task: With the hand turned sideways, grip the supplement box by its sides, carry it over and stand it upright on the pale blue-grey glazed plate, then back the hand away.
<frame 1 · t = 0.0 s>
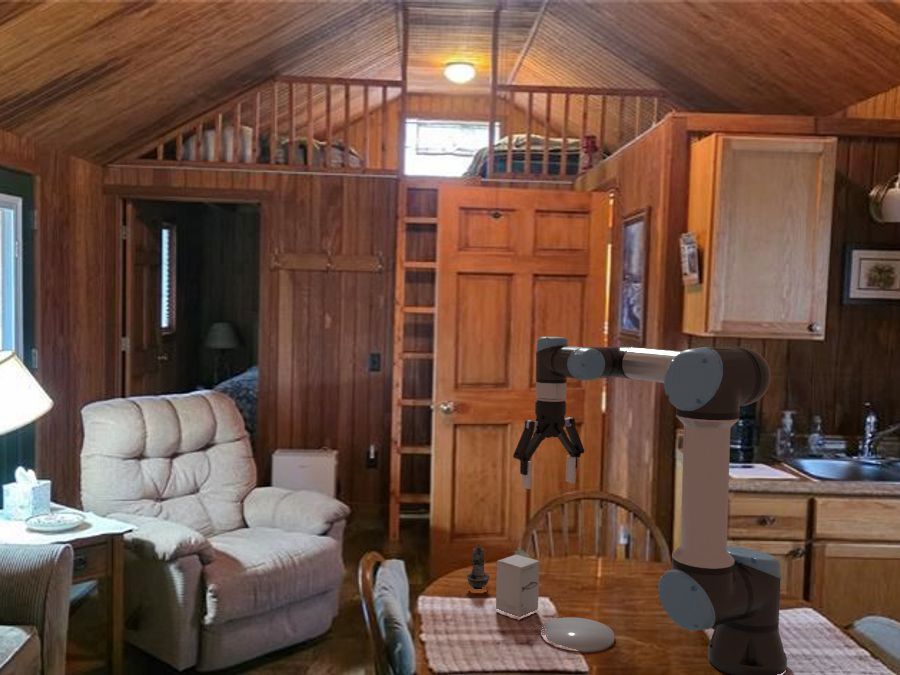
hand: (548, 485, 197), 28 cm above the table, tool pointing down, fingers open, 13 cm apart
croissant: (715, 616, 188), on the table
supplement box: (516, 614, 187), on the table
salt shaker: (477, 591, 202), on the table
plate: (577, 636, 174), on the table
medication box: (525, 571, 218), on the table
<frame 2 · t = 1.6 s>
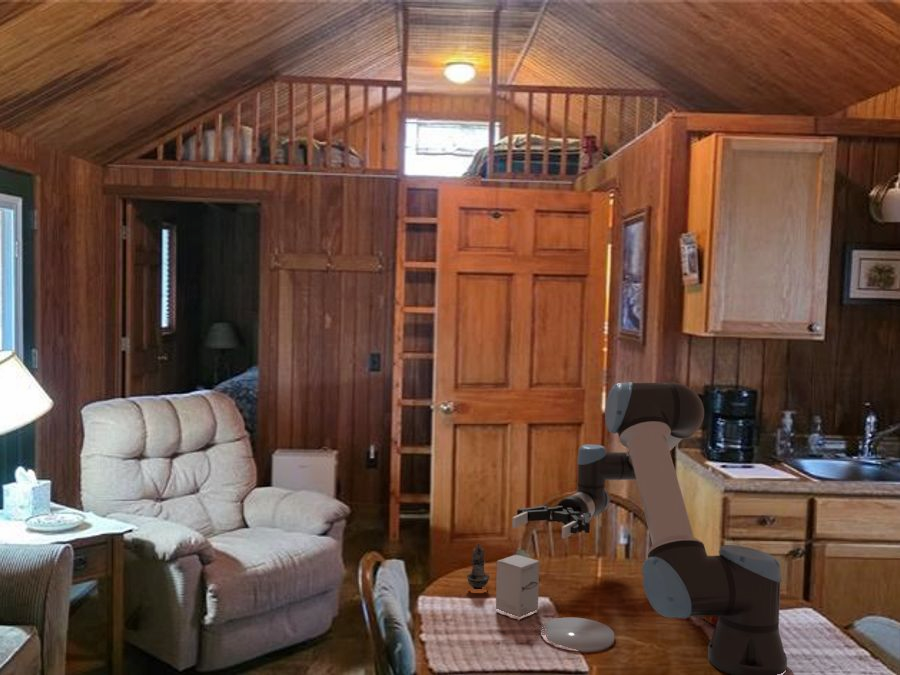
hand: (537, 527, 194), 18 cm above the table, tool horizontal, fingers open, 13 cm apart
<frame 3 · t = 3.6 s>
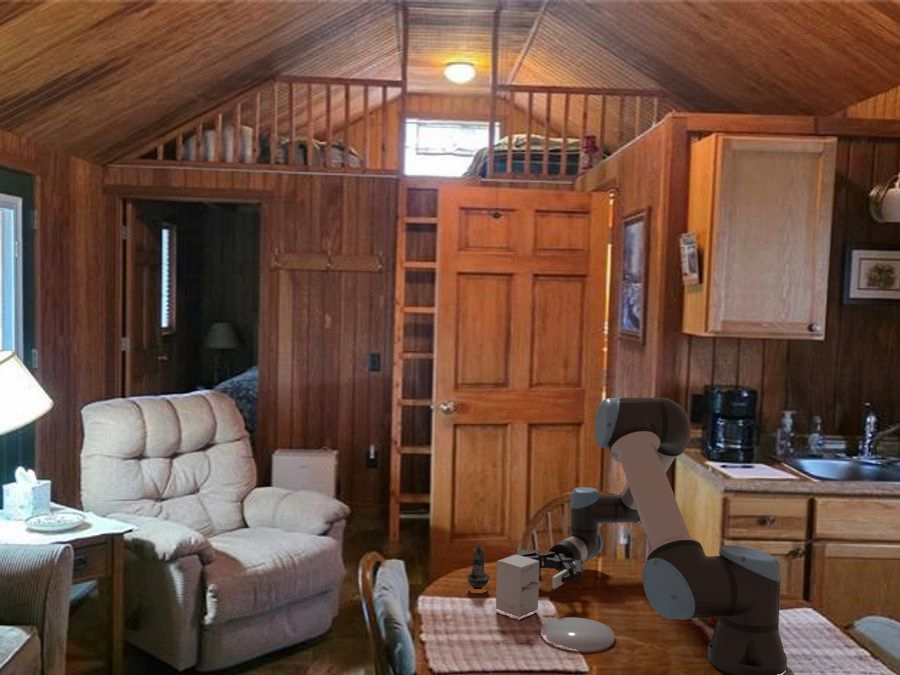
hand: (528, 576, 192), 7 cm above the table, tool horizontal, fingers open, 13 cm apart
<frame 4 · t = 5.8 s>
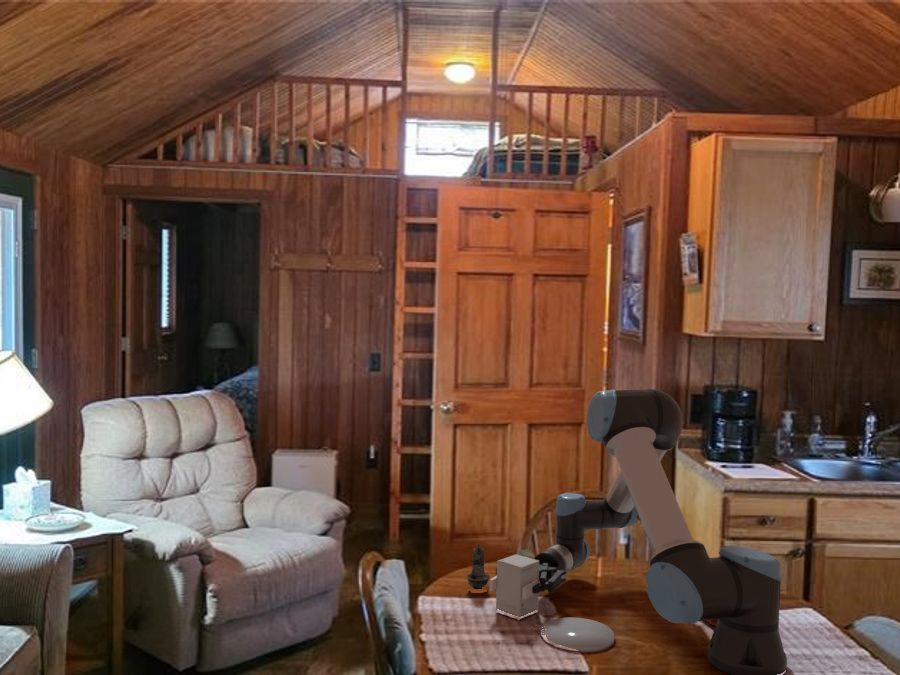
hand: (507, 589, 183), 7 cm above the table, tool horizontal, fingers closed on supplement box, 8 cm apart
supplement box: (517, 614, 187), on the table, touching gripper
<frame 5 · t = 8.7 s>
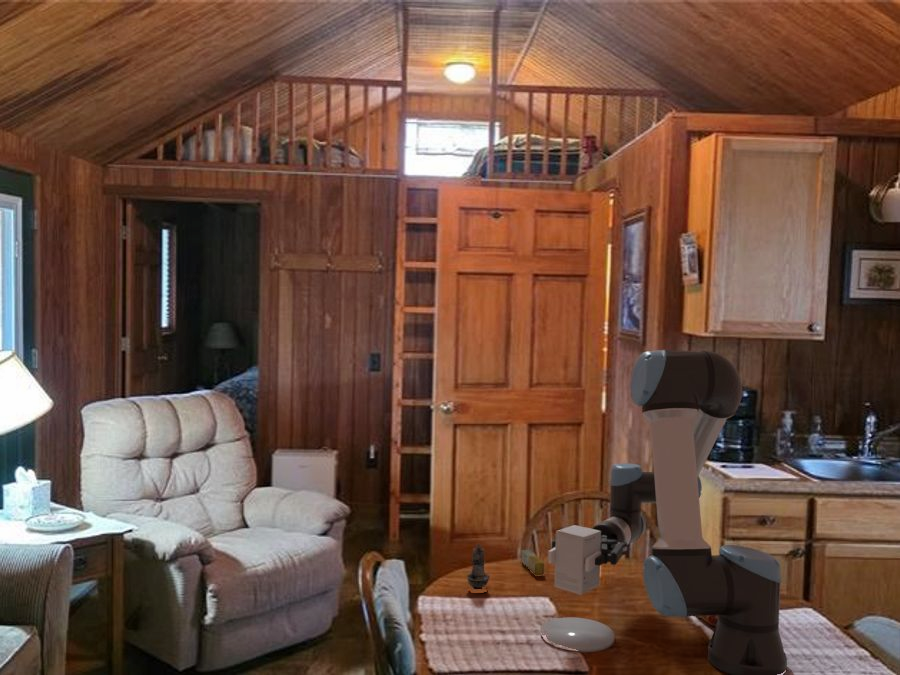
hand: (568, 561, 170), 18 cm above the table, tool horizontal, fingers closed on supplement box, 8 cm apart
supplement box: (577, 588, 174), point 11 cm above the table, touching gripper
when the fingers open (9 cm above the table, at t = 10.8 s): supplement box drops 1 cm, resting on plate.
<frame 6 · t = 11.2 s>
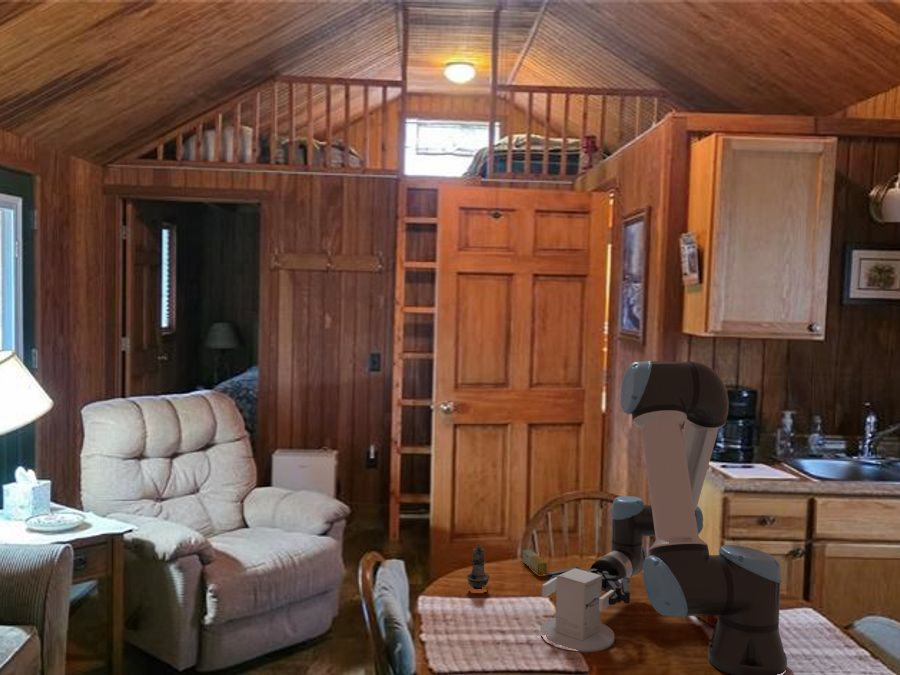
hand: (571, 598, 171), 10 cm above the table, tool horizontal, fingers open, 13 cm apart
supplement box: (577, 632, 174), point 1 cm above the table, touching plate
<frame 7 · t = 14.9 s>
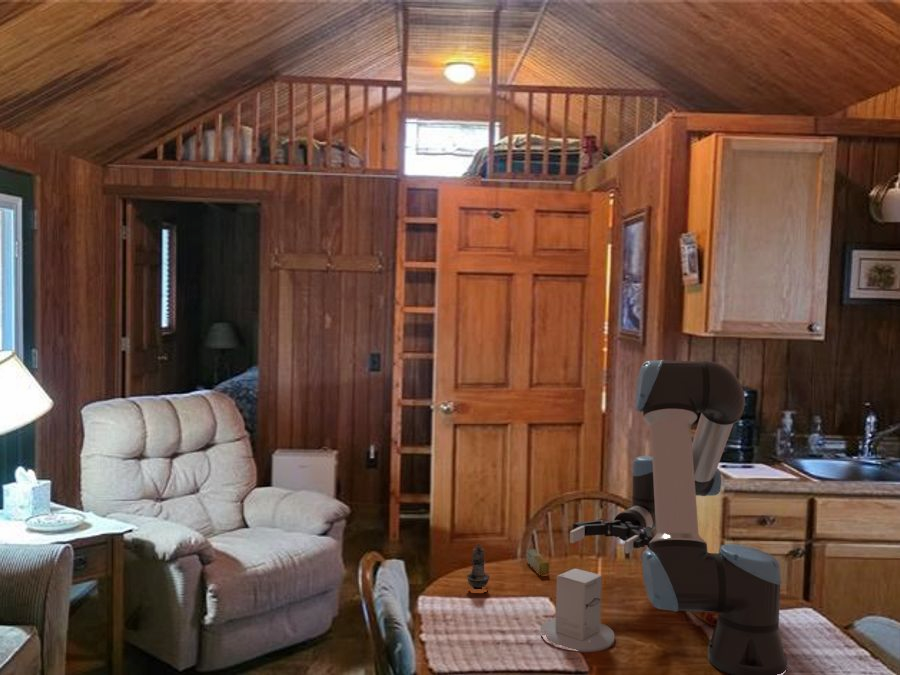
hand: (598, 542, 184), 18 cm above the table, tool horizontal, fingers open, 13 cm apart
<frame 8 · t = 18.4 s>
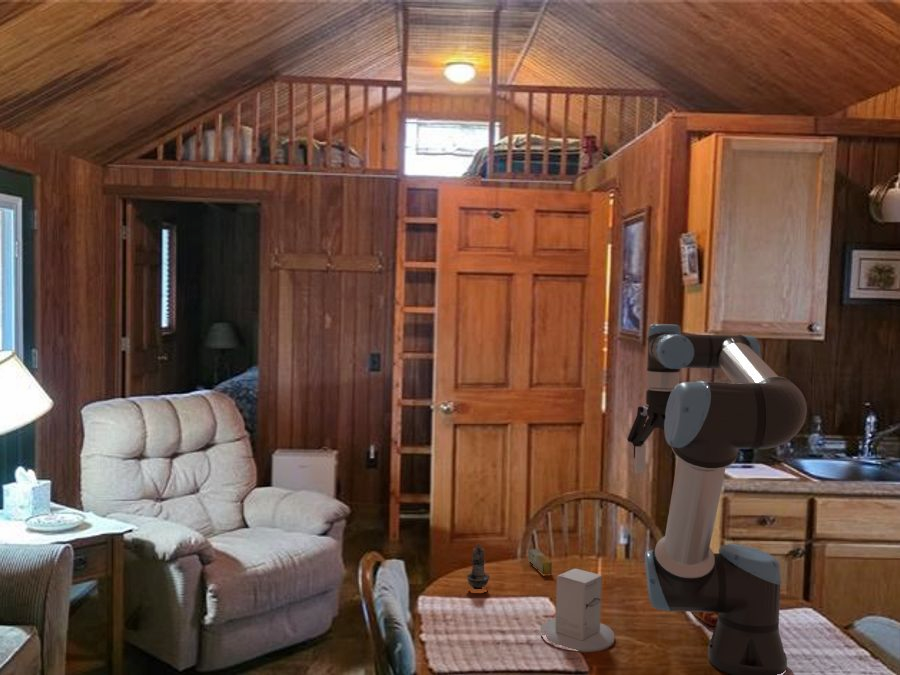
hand: (660, 478, 189), 32 cm above the table, tool pointing down, fingers open, 13 cm apart
at the end: supplement box inside the target area on the plate (0.1 cm from its centre), point 0.8 cm above the plate's base; supplement box tilted 0°; the gripper is holding nothing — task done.
